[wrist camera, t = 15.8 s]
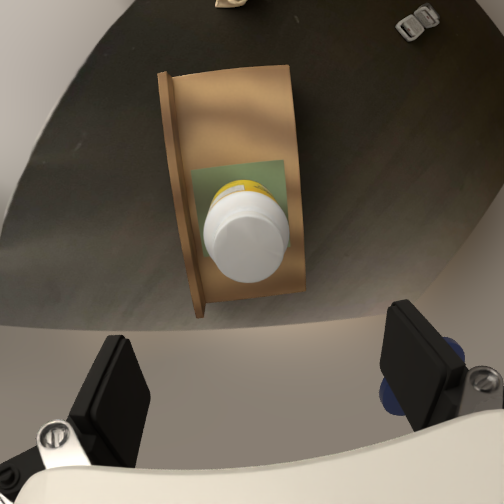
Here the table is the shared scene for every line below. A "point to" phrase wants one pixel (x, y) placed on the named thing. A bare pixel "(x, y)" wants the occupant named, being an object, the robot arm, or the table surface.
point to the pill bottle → (246, 231)
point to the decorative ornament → (229, 3)
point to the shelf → (232, 167)
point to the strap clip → (414, 25)
